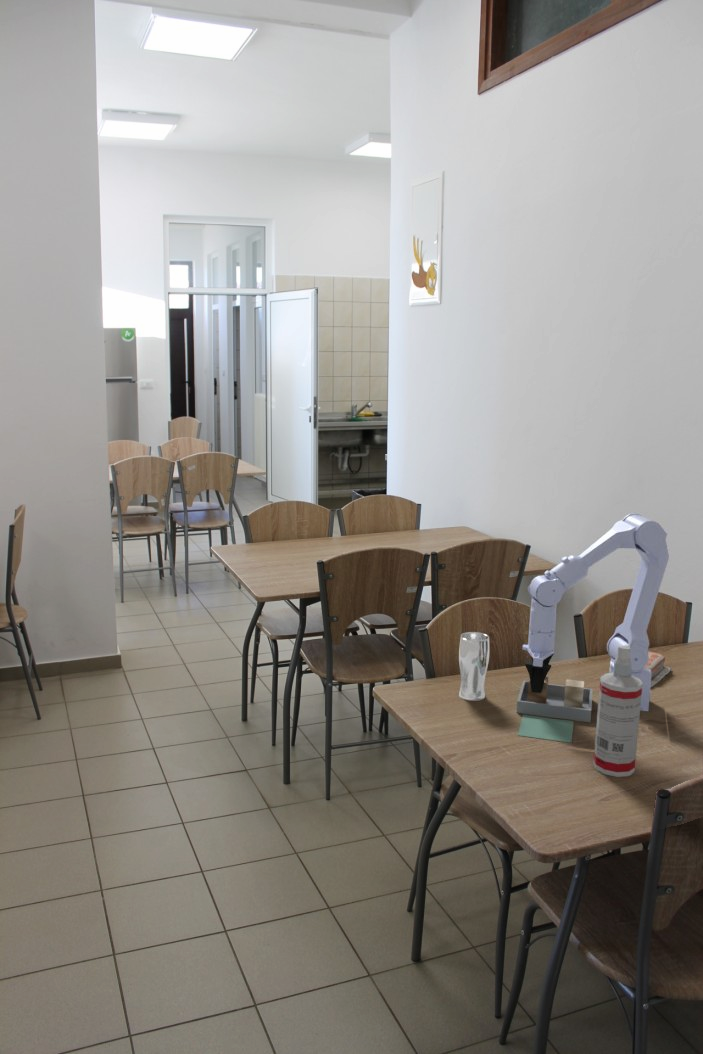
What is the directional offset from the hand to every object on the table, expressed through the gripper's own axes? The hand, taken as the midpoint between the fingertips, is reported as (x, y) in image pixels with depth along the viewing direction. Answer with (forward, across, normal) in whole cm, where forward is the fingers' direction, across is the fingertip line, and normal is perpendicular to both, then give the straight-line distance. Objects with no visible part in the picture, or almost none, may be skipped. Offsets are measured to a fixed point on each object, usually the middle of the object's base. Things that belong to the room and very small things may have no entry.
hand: (537, 686), depth 203 cm
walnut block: (+4, 0, 0) cm, 4 cm away
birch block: (+4, 0, +8) cm, 9 cm away
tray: (+5, 0, +4) cm, 6 cm away
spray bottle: (+5, +26, +17) cm, 32 cm away
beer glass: (+5, 0, -15) cm, 16 cm away
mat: (+5, +13, +3) cm, 14 cm away
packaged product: (+5, -28, +24) cm, 37 cm away
